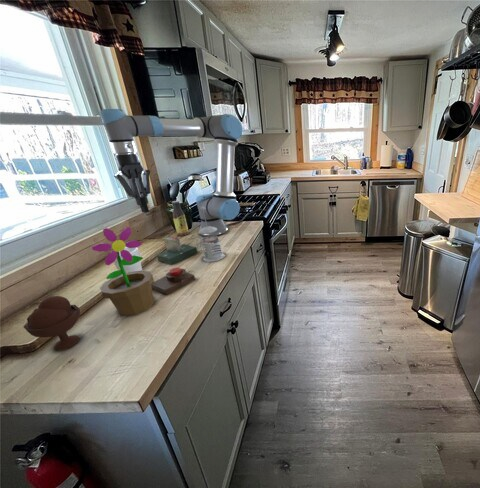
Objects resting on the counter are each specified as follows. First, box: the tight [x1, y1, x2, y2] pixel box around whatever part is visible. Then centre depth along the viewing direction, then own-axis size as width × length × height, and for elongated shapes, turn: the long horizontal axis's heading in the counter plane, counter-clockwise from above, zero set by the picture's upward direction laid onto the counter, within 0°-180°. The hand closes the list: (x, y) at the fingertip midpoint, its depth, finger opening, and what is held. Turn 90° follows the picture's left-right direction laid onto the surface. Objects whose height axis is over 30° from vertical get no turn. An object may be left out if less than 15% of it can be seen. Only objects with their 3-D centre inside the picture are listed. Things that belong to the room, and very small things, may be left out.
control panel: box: [156, 243, 199, 265], centre depth 125 cm, size 14×11×3 cm
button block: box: [151, 268, 196, 296], centre depth 102 cm, size 12×10×4 cm
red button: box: [168, 267, 182, 276], centre depth 102 cm, size 4×4×2 cm
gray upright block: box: [163, 236, 182, 253], centre depth 122 cm, size 6×2×7 cm, turn 77°
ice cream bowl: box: [23, 295, 81, 352], centre depth 71 cm, size 11×11×15 cm
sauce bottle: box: [171, 200, 189, 237], centre depth 150 cm, size 6×6×20 cm
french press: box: [196, 207, 226, 263], centre depth 118 cm, size 10×12×25 cm
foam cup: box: [110, 247, 143, 273], centre depth 104 cm, size 10×9×13 cm
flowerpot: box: [91, 226, 155, 317], centre depth 84 cm, size 14×14×30 cm
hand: (145, 211), depth 110 cm, fingers closed
